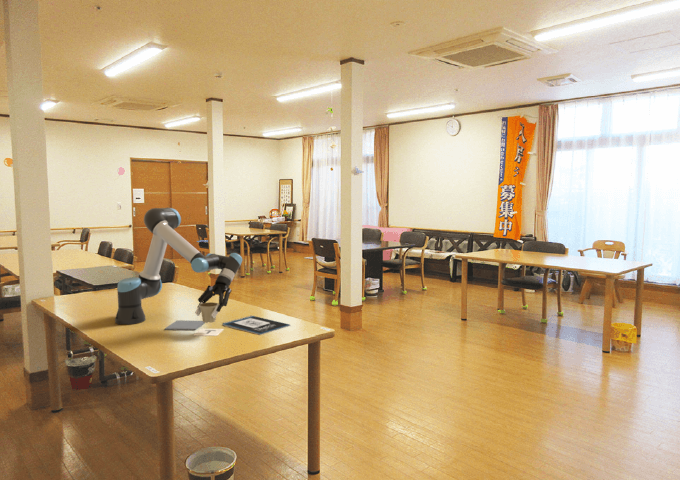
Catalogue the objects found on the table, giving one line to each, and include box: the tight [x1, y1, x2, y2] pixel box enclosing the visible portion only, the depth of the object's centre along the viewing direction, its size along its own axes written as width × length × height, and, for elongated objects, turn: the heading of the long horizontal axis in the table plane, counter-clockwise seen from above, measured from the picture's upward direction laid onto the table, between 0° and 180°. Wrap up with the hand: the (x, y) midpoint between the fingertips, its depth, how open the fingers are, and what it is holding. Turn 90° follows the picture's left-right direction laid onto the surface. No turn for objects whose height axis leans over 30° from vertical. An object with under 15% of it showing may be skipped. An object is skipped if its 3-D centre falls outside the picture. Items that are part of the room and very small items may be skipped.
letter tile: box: [192, 328, 225, 337], centre depth 230 cm, size 12×12×1 cm
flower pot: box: [198, 301, 219, 324], centre depth 229 cm, size 9×9×9 cm
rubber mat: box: [164, 319, 206, 331], centre depth 242 cm, size 16×16×1 cm
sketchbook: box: [222, 315, 291, 336], centre depth 243 cm, size 22×30×2 cm
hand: (204, 315), depth 227 cm, fingers closed on flower pot, 9 cm apart
